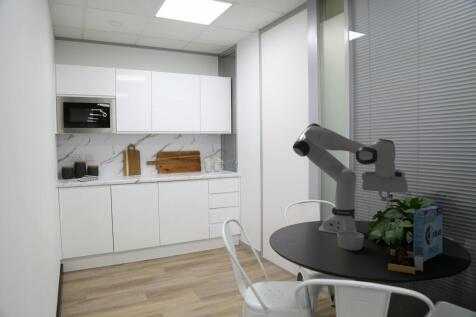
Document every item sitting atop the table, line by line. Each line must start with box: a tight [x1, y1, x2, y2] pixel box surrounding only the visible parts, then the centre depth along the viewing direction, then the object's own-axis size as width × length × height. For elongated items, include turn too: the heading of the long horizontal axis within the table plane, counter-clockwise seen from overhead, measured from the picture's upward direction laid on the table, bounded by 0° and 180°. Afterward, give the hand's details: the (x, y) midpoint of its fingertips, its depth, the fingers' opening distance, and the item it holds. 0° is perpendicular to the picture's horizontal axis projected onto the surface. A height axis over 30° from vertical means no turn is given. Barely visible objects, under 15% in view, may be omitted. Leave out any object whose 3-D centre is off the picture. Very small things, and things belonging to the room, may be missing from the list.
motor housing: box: [387, 246, 424, 275], centre depth 144 cm, size 13×22×7 cm, turn 153°
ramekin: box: [336, 231, 365, 251], centre depth 169 cm, size 13×13×7 cm
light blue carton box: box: [412, 205, 444, 263], centre depth 154 cm, size 20×5×23 cm, turn 126°
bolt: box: [394, 246, 411, 267], centre depth 146 cm, size 6×5×15 cm
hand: (384, 200), depth 159 cm, fingers closed
